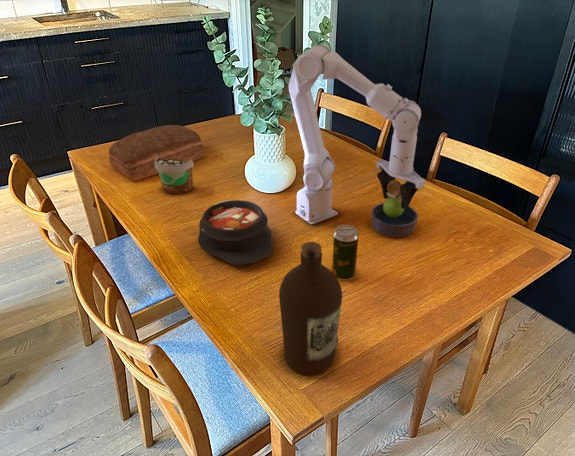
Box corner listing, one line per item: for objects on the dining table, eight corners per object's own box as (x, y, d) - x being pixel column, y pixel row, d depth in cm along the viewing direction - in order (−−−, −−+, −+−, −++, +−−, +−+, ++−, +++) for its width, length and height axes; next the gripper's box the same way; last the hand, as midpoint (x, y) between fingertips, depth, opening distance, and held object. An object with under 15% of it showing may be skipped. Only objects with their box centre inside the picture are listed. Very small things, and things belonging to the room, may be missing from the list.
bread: (108, 168, 156) (100, 136, 149) (182, 144, 172) (178, 114, 166) (132, 184, 145) (124, 151, 139) (208, 157, 162) (205, 126, 156)
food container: (151, 194, 140) (145, 164, 134) (161, 185, 145) (155, 155, 139) (189, 198, 137) (184, 168, 132) (197, 189, 142) (193, 159, 137)
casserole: (184, 229, 123) (179, 202, 118) (246, 211, 130) (245, 184, 126) (221, 281, 104) (217, 251, 100) (291, 255, 112) (291, 227, 108)
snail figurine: (401, 224, 117) (406, 183, 111) (378, 217, 121) (382, 176, 114) (409, 216, 121) (415, 174, 115) (387, 209, 124) (392, 168, 118)
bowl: (392, 244, 116) (394, 231, 113) (360, 223, 124) (361, 210, 122) (425, 229, 121) (427, 216, 119) (392, 210, 130) (394, 198, 127)
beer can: (352, 266, 108) (355, 223, 102) (357, 280, 104) (361, 237, 97) (329, 267, 108) (331, 225, 101) (334, 282, 103) (336, 238, 97)
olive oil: (270, 351, 87) (264, 242, 73) (314, 327, 92) (316, 221, 78) (303, 389, 79) (304, 276, 66) (349, 361, 84) (359, 251, 71)
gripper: (437, 159, 108) (428, 209, 115) (392, 140, 118) (387, 187, 125) (416, 167, 105) (408, 217, 112) (372, 147, 115) (368, 194, 122)
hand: (395, 202), depth 119 cm, fingers closed on snail figurine, 6 cm apart
